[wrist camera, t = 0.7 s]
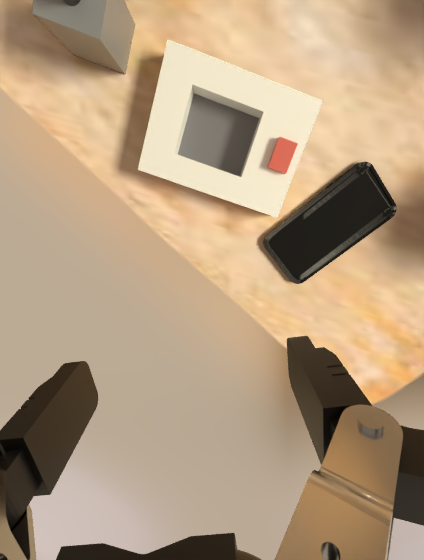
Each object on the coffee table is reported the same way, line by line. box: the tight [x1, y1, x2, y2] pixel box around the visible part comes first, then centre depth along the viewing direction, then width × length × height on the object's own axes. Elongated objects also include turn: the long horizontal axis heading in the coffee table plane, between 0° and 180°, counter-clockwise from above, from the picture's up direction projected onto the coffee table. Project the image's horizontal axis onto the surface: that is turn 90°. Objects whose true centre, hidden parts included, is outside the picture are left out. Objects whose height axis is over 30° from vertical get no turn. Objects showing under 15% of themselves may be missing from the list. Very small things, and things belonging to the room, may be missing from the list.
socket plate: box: [138, 39, 323, 218], centre depth 29 cm, size 12×16×4 cm
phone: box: [263, 162, 397, 284], centre depth 34 cm, size 8×1×15 cm
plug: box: [32, 0, 135, 74], centre depth 24 cm, size 4×6×9 cm
